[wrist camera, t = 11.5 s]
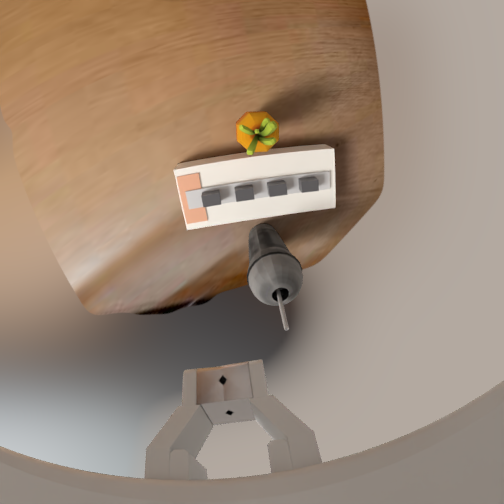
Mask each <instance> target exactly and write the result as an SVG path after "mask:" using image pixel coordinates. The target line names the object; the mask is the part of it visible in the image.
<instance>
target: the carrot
mask: <svg viewBox="0 0 504 504" xmlns="http://www.w3.org/2000/svg"><path fill="white" fill-rule="evenodd" d="M236 136H237V141H238V142H239V143H240V144H241V145H242V146H243V147H245V148H246V149H247V154H248V155H253V153H254V152H267V151H268V150H269V149H270V148H271V147H272V146H273V145H274V144H275V143H276V142H277V141H278V140H279V123H278V122H277V121H276V120H275V119H273V118H272V117H271V116H270V115H269V114H268V113H267V112H265V111H258V112H246V113H245V114H244V115H243V116H242V117H241V118H240V119H239V120H238V121H237V122H236Z"/></svg>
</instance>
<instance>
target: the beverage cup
mask: <svg viewBox="0 0 504 504" xmlns="http://www.w3.org/2000/svg"><path fill="white" fill-rule="evenodd" d="M302 278H303V275H302V267H301V265H300V262H299V261H298V260H297V259H296V258H295V257H294V256H293V255H292V254H291V253H290V252H289V250H288V249H287V247H286V245H285V244H284V242H283V241H282V239H281V238H280V236H279V234H278V233H277V232H276V231H275V229H274V228H273V227H272V226H270V225H269V224H259V225H256V226H255V227H254V228H252V230H251V231H250V234H249V268H248V273H247V282H248V285H249V287H250V288H251V290H252V292H253V294H254V295H255V296H256V297H257V298H258V299H259V300H260V301H261V302H263V303H265V304H268V305H274V306H279V307H280V311H281V316H282V320H283V325H284V329H285V330H288V329H289V327H288V323H287V318H286V314H285V310H284V306H283V305H284V304H286V303H289V302H290V301H292V300H293V299H294V298H295V297H296V296H297V295H298V293H299V291H300V289H301V286H302Z"/></svg>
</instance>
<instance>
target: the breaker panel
mask: <svg viewBox="0 0 504 504" xmlns="http://www.w3.org/2000/svg"><path fill="white" fill-rule="evenodd" d="M174 173H175V178H176V183H177V188H178V192H179V197H180V201H181V206H182V210H183V214H184V219H185V223H186V227H187V230H190V229H196V228H202V227H208V226H214V225H220V224H227V223H233V222H239V221H246V220H252V219H259V218H265V217H272V216H279V215H286V214H293V213H300V212H307V211H315V210H322V209H330V208H336V189H335V154H334V148H332V147H330V146H328V145H326V144H318V145H305V146H295V147H285V148H276V149H269V150H268V151H267V152H254V153H253V155H248V154H247V152H244V153H237V154H230V155H224V156H218V157H212V158H206V159H200V160H195V161H189V162H184V163H179V164H177V166H176V167H175V169H174Z"/></svg>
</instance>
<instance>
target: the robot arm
mask: <svg viewBox="0 0 504 504" xmlns="http://www.w3.org/2000/svg"><path fill="white" fill-rule="evenodd" d="M182 392H183V393H182V406H178V407H177V409H176V410H175V411H174V413H173V414H172V415H171V417H170V418H169V420H168V421H167V422H166V424H165V425H164V426H163V428H162V429H161V430H160V431H159V433H158V434H157V435H156V437H155V438H154V439H153V441H152V442H151V443H150V445H149V446H148V447H147V449H146V463H145V479H143V478H132V477H122V476H115V475H107V474H101V473H95V472H89V471H84V470H79V469H74V468H69V467H65V466H61V465H57V464H53V463H49V462H46V461H42V460H39V459H35V458H32V457H29V456H26V455H23V454H20V453H17V452H14V451H11V450H9V449H6V448H4V447H1V446H0V504H504V381H502V382H501V383H499V384H498V385H496V386H495V387H493V388H492V389H491V390H489V391H488V392H486V393H485V394H483V395H481V396H480V397H478V398H476V399H475V400H473V401H472V402H470V403H468V404H467V405H465V406H463V407H461V408H459V409H458V410H456V411H454V412H452V413H451V414H449V415H447V416H445V417H443V418H441V419H439V420H437V421H435V422H433V423H431V424H429V425H427V426H425V427H423V428H420V429H418V430H416V431H414V432H411V433H409V434H407V435H404V436H402V437H400V438H397V439H395V440H393V441H390V442H387V443H384V444H382V445H379V446H376V447H373V448H371V449H368V450H365V451H362V452H359V453H355V454H352V455H349V456H346V457H342V458H339V459H335V460H331V461H328V462H324V463H322V461H321V457H320V453H319V449H318V445H317V442H316V438H315V434H314V431H313V430H311V429H310V428H309V427H308V426H307V425H306V424H305V423H303V422H302V421H301V420H300V419H299V418H298V417H296V416H295V415H294V414H293V413H292V412H291V411H290V410H289V409H287V408H286V407H285V406H284V405H283V404H282V403H281V402H280V401H279V400H278V399H276V398H275V397H274V396H273V395H269V393H268V387H267V382H266V377H265V372H264V367H263V362H262V360H255V361H250V362H248V361H247V362H242V363H236V364H230V365H224V366H219V367H210V368H201V369H190V370H185V371H184V374H183V391H182ZM252 420H256V421H257V422H258V424H259V425H260V426H261V427H262V428H263V429H264V430H265V431H266V432H267V433H268V435H269V436H270V437H271V438H272V439H273V441H270V442H269V443H268V445H267V446H268V452H269V459H270V466H271V473H270V474H263V475H255V476H247V477H237V478H225V479H211V480H210V479H207V470H206V469H205V468H204V467H203V466H202V465H201V464H200V463H199V462H198V461H197V460H196V459H195V458H196V457H197V455H198V453H199V451H200V450H201V448H202V446H203V444H204V442H205V441H206V439H207V437H208V435H209V434H210V432H211V430H212V428H213V425H218V424H226V423H233V422H243V421H252Z"/></svg>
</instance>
